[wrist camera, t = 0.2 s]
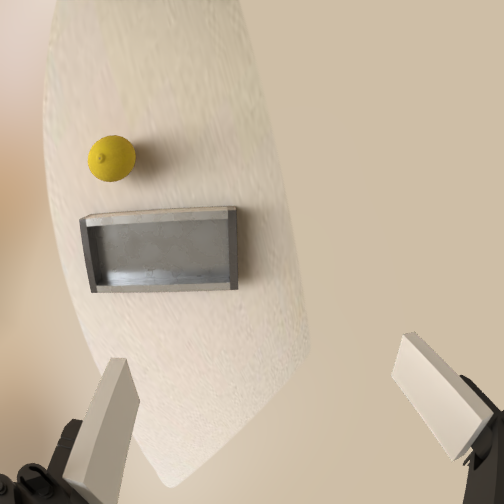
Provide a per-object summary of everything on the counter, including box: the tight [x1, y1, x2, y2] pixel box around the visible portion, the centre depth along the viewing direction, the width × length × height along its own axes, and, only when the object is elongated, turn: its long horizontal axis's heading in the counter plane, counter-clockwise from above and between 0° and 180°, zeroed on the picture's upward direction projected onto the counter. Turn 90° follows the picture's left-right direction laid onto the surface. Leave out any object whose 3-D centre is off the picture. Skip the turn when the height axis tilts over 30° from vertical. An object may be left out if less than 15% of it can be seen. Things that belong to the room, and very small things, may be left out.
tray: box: [79, 206, 238, 293], centre depth 36 cm, size 10×20×4 cm, turn 90°
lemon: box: [88, 135, 136, 182], centre depth 30 cm, size 6×6×8 cm
